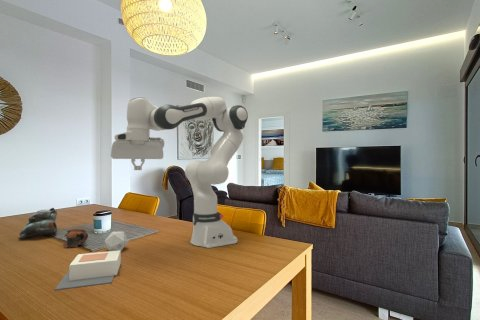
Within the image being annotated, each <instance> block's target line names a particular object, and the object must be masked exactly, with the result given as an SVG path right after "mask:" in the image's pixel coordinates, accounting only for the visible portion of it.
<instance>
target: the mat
mask: <svg viewBox="0 0 480 320" xmlns="http://www.w3.org/2000/svg"><path fill="white" fill-rule="evenodd" d="M114 278H115V275H112V276H104V277H96V278H88V279H79V280H71V281H69V270H68V271H67V273H66V274H64V276H63V277H62V278H61V280H60V282H59V283H58V284H57V285H56V286H55V288H54V291H59V290H60V291H61V290H67V289H74V288H83V287H91V286H99V285H100V286H101V285H106V284H112V283H113V280H114Z"/></svg>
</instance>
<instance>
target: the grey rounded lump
mask: <svg viewBox="0 0 480 320" xmlns="http://www.w3.org/2000/svg"><path fill="white" fill-rule="evenodd" d="M57 215H58V210H57V209H55V208H54V207H52V208H49V209H41V210H37V211H36V212H35V213H32V215H29V217H28V220H27V221H28V222H27V223H26V224H25V226H24V228H23V229H21V231H20V233H19V236H18V239H21V240H23V239H26V238H30V237H36V236H44V235H45V236H46V235H56V233H58V228H57V222H56V219H57Z"/></svg>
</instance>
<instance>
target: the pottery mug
mask: <svg viewBox="0 0 480 320" xmlns="http://www.w3.org/2000/svg"><path fill="white" fill-rule="evenodd" d="M66 232H67V233H66V234H65V235H64V236H63V237H65V239H66V242H64V243H63V249H66V248H78V247H79V245H83V244H85V242H86V241H87V240H88V237H89V233H88V232H87V231H86V229H85V230H84V229H80V228H79V229H78V228H76V229H74V228H73V229H70V230H67V231H66Z"/></svg>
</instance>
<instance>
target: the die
mask: <svg viewBox="0 0 480 320" xmlns="http://www.w3.org/2000/svg"><path fill="white" fill-rule="evenodd" d="M104 243H105V245H106V247H107V250H108V251H119V250H121V252H122V251H123V250H124V248H125V247H126V245H127V244H128V243H129V240H128V237H127V235H126V234H125V231H112V232H111V233H109V235H108V236H107V237H106V239H105V240H104Z"/></svg>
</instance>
